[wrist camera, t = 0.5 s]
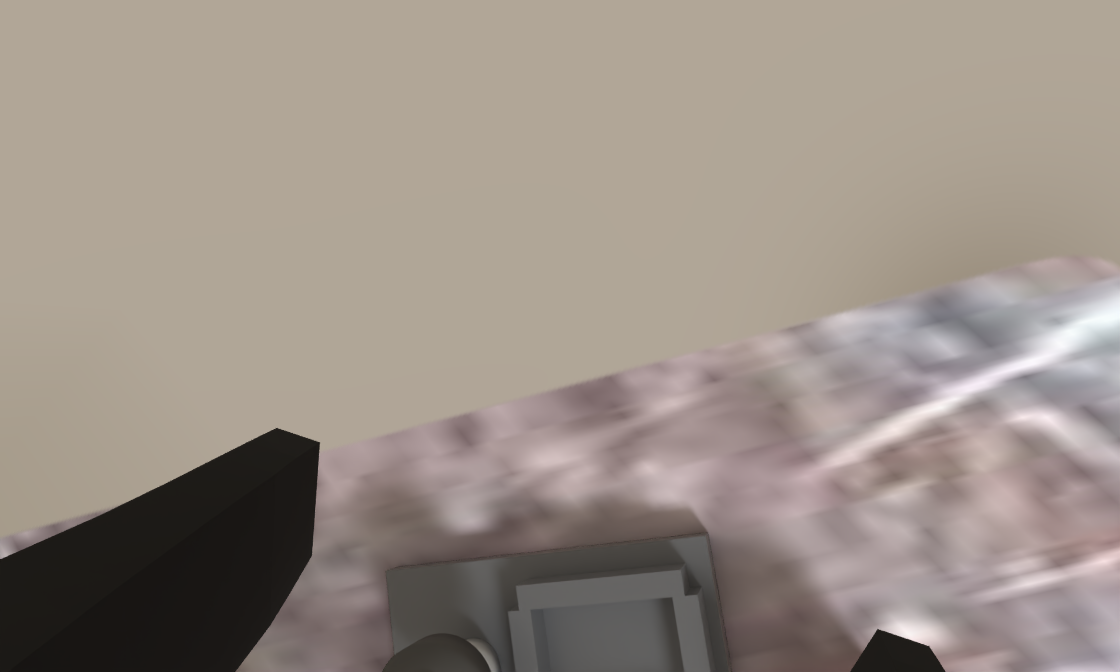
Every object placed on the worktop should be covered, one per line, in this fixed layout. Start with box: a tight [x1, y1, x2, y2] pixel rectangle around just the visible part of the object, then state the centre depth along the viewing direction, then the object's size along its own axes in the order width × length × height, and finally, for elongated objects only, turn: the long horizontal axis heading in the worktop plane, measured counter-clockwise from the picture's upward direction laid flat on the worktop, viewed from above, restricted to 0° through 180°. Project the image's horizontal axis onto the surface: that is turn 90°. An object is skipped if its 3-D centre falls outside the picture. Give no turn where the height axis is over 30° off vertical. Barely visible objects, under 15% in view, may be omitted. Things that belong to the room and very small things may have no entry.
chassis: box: [386, 533, 732, 672], centre depth 31 cm, size 9×15×2 cm, turn 99°
